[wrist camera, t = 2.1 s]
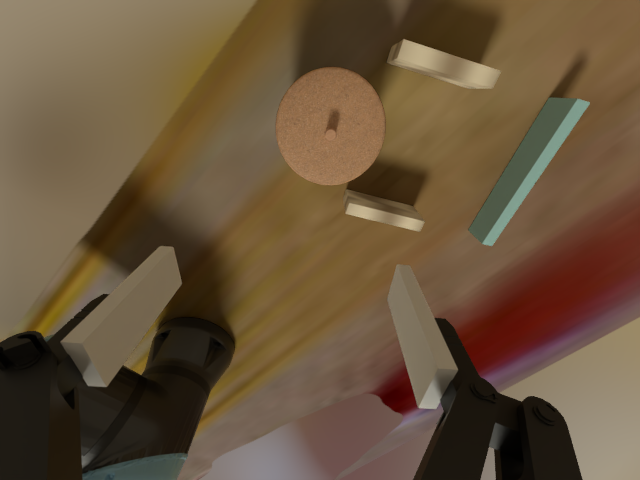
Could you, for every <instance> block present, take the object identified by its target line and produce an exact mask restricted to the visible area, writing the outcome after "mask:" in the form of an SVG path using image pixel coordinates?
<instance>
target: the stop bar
mask: <svg viewBox="0 0 640 480" xmlns="http://www.w3.org/2000/svg"><path fill="white" fill-rule="evenodd" d="M589 104H590V103H589V102H586V101H583V100H580V99H573V98H548V100H547V102H546V103H545V105H544V107H543V108H542V110H541V111H540V113H539V115H538V116H537V118H536V120H535V121H534V123H533V125H532V126H531V128H530V129H529V131H528V133H527V134H526V136H525V138H524V139H523V141H522V143H521V144H520V146H519V148H518V149H517V151H516V152H515V154H514V156H513V157H512V159H511V161H510V162H509V164H508V166H507V167H506V169H505V170H504V172H503V174H502V175H501V177H500V179H499V180H498V182H497V184H496V185H495V187H494V188H493V190H492V192H491V193H490V195H489V197H488V198H487V200H486V202H485V203H484V205H483V206H482V208H481V210H480V211H479V213H478V215H477V216H476V218H475V220H474V221H473V223H472V224H471V226H470V228H469V229H468V230H469V231H470V232H471V233H472V234H473V235H474V236H475V237H476V238H477V239H478V240H479V241H480V242H481V243H482V244H485V245H489V246H492V245H493V244H494V242H495V241H496V239H497V238H498V237H499V235H500V234H501V232H502V231H503V229H504V228H505V226H506V225H507V223H508V222H509V220H510V219H511V218H512V216H513V215H514V213H515V212H516V210H517V209H518V207H519V206H520V204H521V203H522V202H523V200H524V199H525V197H526V196H527V194H528V193H529V191H530V190H531V188H532V187H533V186H534V184H535V183H536V181H537V180H538V178H539V177H540V175H541V174H542V172H543V171H544V169H545V168H546V167H547V165H548V164H549V162H550V161H551V159H552V158H553V156H554V155H555V153H556V152H557V151H558V149H559V148H560V146H561V145H562V143H563V142H564V140H565V139H566V137H567V136H568V135H569V133H570V132H571V130H572V129H573V127H574V126H575V124H576V123H577V121H578V120H579V118H580V117H581V116H582V114H583V113H584V111H585V110H586V108H587V107H588V105H589Z"/></svg>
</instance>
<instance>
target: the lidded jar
mask: <svg viewBox="0 0 640 480" xmlns="http://www.w3.org/2000/svg"><path fill="white" fill-rule="evenodd" d="M385 131H386V120H385V112H384V108H383V105H382V102H381V100H380V98H379V96H378V94H377V92H376V91H375V89H374V88H373V86H372V85H371V84H370V83H369V82H368V81H367V80H366V79H364V78H363V77H362V76H360V75H359V74H357V73H355V72H353V71H351V70H348V69H345V68H341V67H323V68H319V69H315V70H312V71H310V72H308V73H306V74H304V75H303V76H301V77H300V78H299V79H297V80H296V81H295V82H294V83H293V84H292V85H291V86H290V88H289V89H288V90H287V92H286V93H285V95H284V96H283V99H282V101H281V103H280V105H279V109H278V112H277V118H276V136H277V142H278V145H279V148H280V151H281V153H282V155H283V157H284V159H285V160H286V162H287V163H288V165H289V166H290V167H291V168H292V169H293V170H294V171H295V172H296V173H297V174H299V175H300V176H301V177H303V178H305V179H306V180H308V181H311V182H314V183H317V184H322V185H338V184H342V183H346V182H349V181H351V180H353V179H355V178H357V177H358V176H360V175H361V174H363V173H364V172H365V171H366V170H367V169H368V168H369V167H370V166H371V165H372V164H373V162H374V161H375V159H376V158H377V156H378V154H379V152H380V150H381V148H382V145H383V142H384V137H385Z"/></svg>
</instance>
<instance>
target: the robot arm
mask: <svg viewBox="0 0 640 480" xmlns="http://www.w3.org/2000/svg"><path fill="white" fill-rule="evenodd" d="M181 285H182V281H181V277H180V272H179V268H178V264H177V260H176V256H175V251H174V247H169V246H159V247H158V248H157V249H156V250H155V251H154V252H153V253H152V254H151V255H150V256H149V257H148V258H147V259H146V260H145V261H144V262H143V263H142V264H141V265H140V266H139V267H138V268H137V269H136V270H134V271H133V272H132V273H131V274H130V275H129V276H128V277H127V278H126V279H125V280H124V281H123V282H122V283H121V284H120V285H119V286H118V287H117V288H116V289H115V290H114V291H113V292H112V293H111V294H103V295H101V296H99V297H97V298H96V299H94V300H92V301H91V302H90V303H89V304H87V305H86V306H85V307H84V308H83V309H82V311H81V312H79V313H78V314H76V315H75V316H74V318H73V319H71V320H70V321H69V322H68V323H67V324H66V325H64V326H63V327H62V328H61V329H60V330H59V331H58V332H57V333H56V334H54V335H50V336H47V337H45V338H44V337H43V336H42V334H41V333H39V332H36V331H27V332H23V333H19V334H16V335H14V336H12V337H9V338H7V339H6V340H4V341H2V342H1V343H0V480H177V478H178V475H179V473H180V471H181V469H182V466H183V464H184V462H185V460H186V459H187V457H188V451H189V448H190V446H191V443H192V440H193V437H194V435H195V432H196V429H197V427H198V424H199V421H200V418H201V416H202V413H203V410H204V407H205V405H206V402H207V399H208V396H209V394H210V391H211V389H212V388H213V387H214V385H215V384H216V383H217V381H218V380H219V379H220V377H221V376H222V375H223V373H224V372H225V371H226V369H227V368H228V367H229V365H230V363H231V360H232V357H233V354H234V350H235V347H234V343H233V341H232V339H231V337H230V336H229V335H228V334H227V333H226V332H225V331H224V330H223V329H221V328H220V327H218V326H217V325H215V324H213V323H211V322H208V321H205V320H202V319H197V318H177V319H173V320H170V321H168V322H166V323H165V324H163V325H162V326H161V328H160V329H159V331H158V332H157V334H156V335H155V336H154V338H153V341H152V344H151V348H150V352H149V356H148V360H147V364H146V368H145V370H144V372H143V374H142V375H140V374H138V373H136V372H134V371H133V370H131V369H129V368H127V367H125V366H124V365H123V364H124V363H125V361H126V360H127V359H128V357H129V356H130V355H131V353H132V352H133V350H134V349H135V348H136V346H137V345H138V344H139V342H140V341H141V339H142V338H143V337H144V335H145V334H146V333H147V331H148V330H149V328H150V327H151V326H152V324H153V323H154V322H155V320H156V319H157V318H158V316H159V315H160V313H161V312H162V311H163V309H164V308H165V307H166V305H167V304H168V302H169V301H170V300H171V298H172V297H173V296H174V294H175V293H176V291H177V290H178V289H179V287H180V286H181ZM387 300H388V304H389V307H390V311H391V314H392V318H393V321H394V325H395V328H396V332H397V335H398V339H399V342H400V346H401V349H402V353H403V356H404V360H405V363H406V367H407V370H408V374H409V377H410V381H411V384H412V388H413V391H414V395H415V398H416V402H417V405H418V408H429V409H436V408H437V406H438V404H439V403H440V402H441V405H442V407H443V410H444V412H443V414H442V415H441V417H440V419H439V420H438V422H437V427H436V429H435V432H434V434H433V436H432V438H431V440H430V443H429V445H428V447H427V449H426V452H425V454H424V456H423V458H422V461H421V463H420V465H419V467H418V470H417V472H416V475H415V476H414V479H413V480H480V478H481V474H482V471H483V467H484V463H485V459H486V456H487V452H488V448H489V447H491V448H494V452H495V471H496V480H582V476H581V473H580V469H579V466H578V462H577V459H576V455H575V451H574V448H573V444H572V441H571V437H570V434H569V430H568V427H567V424H566V422H565V420H564V417H563V416H562V415H561V414H560V413H559V412H558V410H557V409H556V408H554V407H553V406H552V405H551V404H550V403H548V402H546V401H545V400H543V399H541V398H538V397H534V396H530V397H527V398H526V399H524V400H523V401H522V402H521V401H518V400H516V399H513V398H510V397H508V396H505V395H502V394H500V393H498V392H497V391H496V389H495V388H494V387H493V386H492V385H491V384H490V383H489V382H487V381H486V380H485V379H483V378H481V377H480V376H479V375H478V373H477V371H476V369H475V367H474V365H473V363H472V361H471V359H470V357H469V356H468V354H467V352H466V350H465V348H464V346H462V345H463V344H462V342H461V340H460V339H459V338H458V335H457V333H456V331H455V329H454V327H453V326H452V325H451V324H450V323H449V322H448V321H447V320H446V319H441V318H434V317H433V314H432V312H431V310H430V308H429V306H428V304H427V301H426V299H425V297H424V295H423V293H422V291H421V289H420V286H419V284H418V282H417V280H416V278H415V276H414V273H413V271H412V269H411V267H410V265H397V266H396V270H395V273H394V277H393V280H392V284H391V288H390V291H389V295H388V298H387Z"/></svg>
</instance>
